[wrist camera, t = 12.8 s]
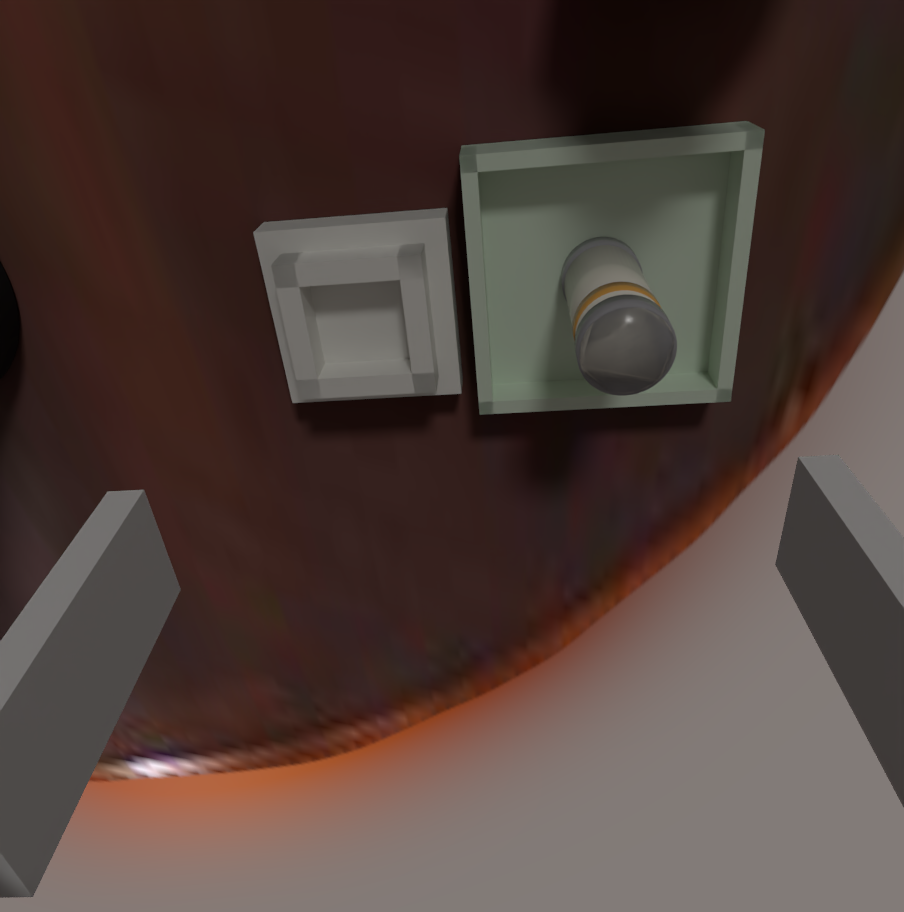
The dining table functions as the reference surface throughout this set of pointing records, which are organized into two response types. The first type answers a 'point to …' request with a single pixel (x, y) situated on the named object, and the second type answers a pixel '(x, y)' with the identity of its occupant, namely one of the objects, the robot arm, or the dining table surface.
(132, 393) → the dining table surface
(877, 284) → the dining table surface
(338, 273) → the holder
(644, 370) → the fuse
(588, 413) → the dining table surface
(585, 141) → the tray
